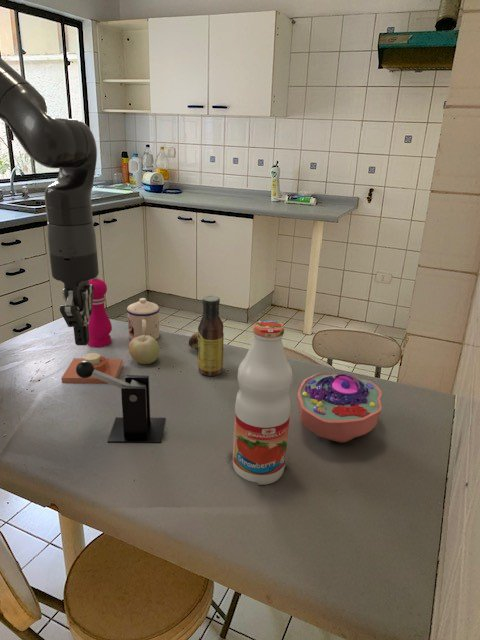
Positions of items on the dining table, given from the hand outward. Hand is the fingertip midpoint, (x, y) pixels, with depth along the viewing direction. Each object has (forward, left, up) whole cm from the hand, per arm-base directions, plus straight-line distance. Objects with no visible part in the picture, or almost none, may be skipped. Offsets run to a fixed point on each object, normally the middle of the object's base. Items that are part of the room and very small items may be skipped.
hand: (82, 343), depth 83 cm
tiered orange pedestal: (-5, +23, -20) cm, 31 cm away
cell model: (+49, +2, -20) cm, 53 cm away
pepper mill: (-8, +42, -20) cm, 47 cm away
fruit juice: (+32, -10, -20) cm, 39 cm away
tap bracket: (+9, 0, -20) cm, 22 cm away
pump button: (-5, +23, -16) cm, 28 cm away
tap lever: (+4, 0, -9) cm, 10 cm away
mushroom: (+21, +38, -20) cm, 48 cm away
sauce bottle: (+23, +26, -20) cm, 40 cm away
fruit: (+6, +31, -20) cm, 37 cm away
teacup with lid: (+4, +45, -20) cm, 49 cm away
